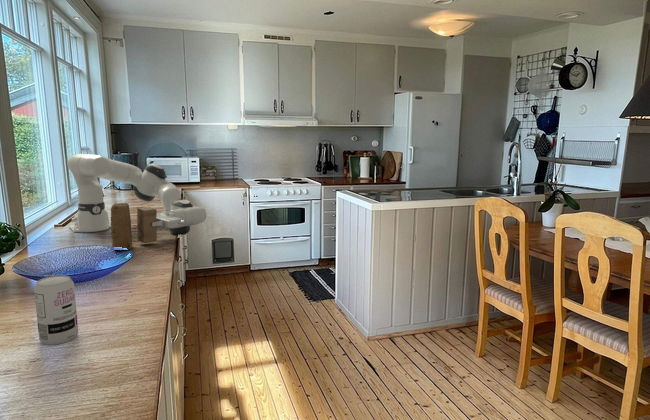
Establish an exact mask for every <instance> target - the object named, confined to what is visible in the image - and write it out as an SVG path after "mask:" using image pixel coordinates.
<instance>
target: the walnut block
mask: <svg viewBox="0 0 650 420" xmlns="http://www.w3.org/2000/svg"><path fill="white" fill-rule="evenodd" d="M136 209H137V212H136V219H137V221H136V222H137V223H136V224H137V241H138V242H140V243H143V244H148V243H155V242H158V241H157V240H158V239H157V237H158V236H157V235H158V232H157V231H158V230H157V229H158V226H151V222H157V213H158V211H157V208H154V207H152V206H148V207H138V208H136Z"/></svg>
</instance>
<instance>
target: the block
mask: <svg viewBox="0 0 650 420" xmlns="http://www.w3.org/2000/svg"><path fill="white" fill-rule="evenodd" d="M131 219H132V218H131V212H130V205H129V203H128V202H124V203H123V202H120V203H114V204H112V205H111V208H110V224H111V227H110V232H111V245H112V248H113V247H122V248H127V249H130V250H132V248H133V237H132V234H133V233H132V220H131Z"/></svg>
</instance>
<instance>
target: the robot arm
mask: <svg viewBox="0 0 650 420" xmlns="http://www.w3.org/2000/svg"><path fill="white" fill-rule="evenodd" d="M66 164H67V168H68V170H69V171H70V173H71V174H72V176H73V179H74V181H75V184H76V187H77V192H78V196H77V197H78V204H77V210H78V211H77V212H76V213H75V214H74V216H73V217H72V218H71V222H72V223H74V224H70V225H69V228H70V229H71V231H72V232H73V233H93V232H103V231H106V230H108V229H111V223H110V219H109V218H110V217H109V213H108V211H107V210H106V203H105V201H104V190H103V186H102V185H101V183H100V182H99V180H98V178H99V179H103V180H108V181H112V182H117V183H122V184H130V185H132V190H133V192H134V193H133V194H134V195H135V196H136V198H138V199H139V200H140V201H143V202H147V203H148V202H152V201H153V200H154V199H155V197H156V195H157V197H158V198H159V200H160V202H161V205H162V207H163V211H160V212H157V222H151V226H157V227H163V228H166V229H169V232H170V233H171V234H172V235H178V236H179V235H187V234H188V233H189V232H190V231H191V226H196V225H199V224H202V223H204V222H205V221H206V219H207V213H206V209H205V208H204V207H203V206H196V205H193V204H192V203H191V202H190V201H189V200H188V199H184V198H182V196H181V195H182V194H181V191H180V189H179V188H178V187H177V186H176V184H174V183H172V182H170V181H167V180H166V179H167V178H168V176H167V175H166V171H165V168H163V167H162V166H161V165H159V164H156V163H148V164H147V165H146V166H145V167H144V170H142V169H141V168H139V167H138V166H135V165H133V164H130V163H127V162H124V161H123V162H122V161H120V160H119V161H118V160H115V159H111V158H109V157H106V156H102V155H99V154H91V153H90V154H88V153H78V154H73V155H70V157H69V158H68V160H67V162H66Z"/></svg>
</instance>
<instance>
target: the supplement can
mask: <svg viewBox="0 0 650 420" xmlns="http://www.w3.org/2000/svg"><path fill="white" fill-rule="evenodd" d="M33 291H34V300H35V301H34V303H35V311H36V320H37V329H38V330H37V331H38V339H39V340H38V341H39V342H41V343H42V344H44V345H45V346H46V345H47V346H55V345H61V344H64V343H68V342H70V341H72V340H73V339H75V337H76V336H78V334H79V326H78V325H79V324H78V313H77V301H76V299H77V298H76V289H75V283H74V281H73V279H71V276H69V275H52V276H51V275H50V276H47V277H43V278H41V279H38V280H37V281H36V284H35V286H34V288H33Z"/></svg>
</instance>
